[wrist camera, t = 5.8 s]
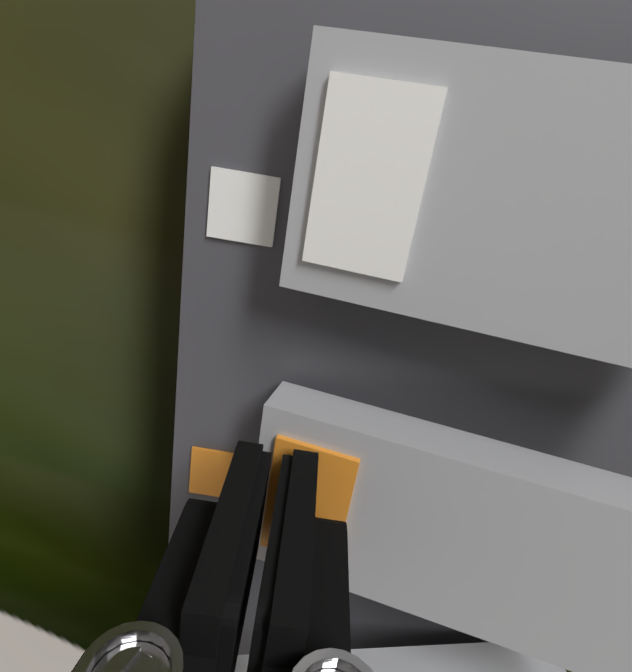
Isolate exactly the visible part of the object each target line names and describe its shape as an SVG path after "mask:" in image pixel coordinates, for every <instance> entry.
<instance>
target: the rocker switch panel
mask: <svg viewBox="0 0 632 672" xmlns="http://www.w3.org/2000/svg"><path fill="white" fill-rule="evenodd" d="M314 25H318V26H326V27H334V28H342V29H350V30H359V31H367V32H375V33H383V34H391V35H400V36H408V37H416V38H424V39H432V40H441V41H449V42H457V43H465V44H473V45H482V46H490V47H498V48H506V49H515V50H523V51H531V52H539V53H547V54H556V55H564V56H572V57H580V58H588V59H597V60H605V61H613V62H621V63H629V64H632V0H196V12H195V31H194V51H193V71H192V90H191V110H190V130H189V149H188V169H187V188H186V208H185V228H184V247H183V267H182V287H181V306H180V326H179V346H178V365H177V385H176V404H175V424H174V444H173V463H172V483H171V503H170V522H169V542H170V539H171V537H172V535H173V532H174V530H175V527H176V525H177V523H178V520H179V518H180V515H181V513H182V511H183V508H184V506H185V504H186V502H187V500H188V499H189V498H192V499H199V500H206V501H212V502H218V499H219V496H220V493H221V490H222V487H223V484H224V481H225V478H226V475H227V472H228V469H229V466H230V463H231V460H232V457H233V454H234V451H235V448H236V445H237V443H238V441H239V440H240V441H246V442H253V443H259V437H260V429H261V422H262V414H263V407H264V404H265V403H266V401H267V400H268V399H269V398H270V396H271V395H272V394H273V393H274V391H275V390H276V389H277V388H278V386H279V385H280V384H281V383H282V381H285V382H289V383H292V384H296V385H299V386H303V387H307V388H310V389H314V390H318V391H321V392H325V393H328V394H332V395H336V396H339V397H343V398H346V399H350V400H354V401H357V402H361V403H365V404H368V405H372V406H375V407H379V408H383V409H386V410H390V411H394V412H397V413H401V414H404V415H408V416H412V417H415V418H419V419H422V420H426V421H430V422H433V423H437V424H441V425H444V426H448V427H451V428H455V429H459V430H462V431H466V432H469V433H473V434H477V435H480V436H484V437H488V438H491V439H495V440H498V441H502V442H506V443H509V444H513V445H517V446H520V447H524V448H527V449H531V450H535V451H538V452H542V453H545V454H549V455H553V456H556V457H560V458H564V459H567V460H571V461H574V462H578V463H582V464H585V465H589V466H592V467H596V468H600V469H603V470H607V471H611V472H614V473H618V474H621V475H625V476H629V477H632V368H629V367H625V366H620V365H616V364H612V363H607V362H603V361H599V360H595V359H590V358H586V357H582V356H577V355H573V354H569V353H564V352H560V351H556V350H552V349H547V348H543V347H539V346H534V345H530V344H526V343H522V342H517V341H513V340H509V339H504V338H500V337H496V336H491V335H487V334H483V333H479V332H474V331H470V330H466V329H461V328H457V327H453V326H449V325H444V324H440V323H436V322H431V321H427V320H423V319H418V318H414V317H410V316H406V315H401V314H397V313H393V312H388V311H384V310H380V309H375V308H371V307H367V306H363V305H358V304H354V303H350V302H345V301H341V300H337V299H333V298H328V297H324V296H320V295H315V294H311V293H307V292H302V291H298V290H294V289H290V288H285V287H281V286H279V283H280V276H281V268H282V261H283V253H284V246H285V238H286V231H287V223H288V215H289V208H290V200H291V193H292V185H293V178H294V170H295V162H296V155H297V147H298V140H299V132H300V125H301V117H302V110H303V102H304V94H305V87H306V79H307V72H308V64H309V57H310V49H311V42H312V34H313V26H314ZM169 542H168V544H169ZM264 562H265V561H262V560H259V559H256V564H255V569H254V574H253V579H252V584H251V590H250V595H249V600H248V605H247V610H246V616H245V621H244V626H243V631H242V636H241V642H240V647H239V652H238V655H247V654H249V653H250V647H251V640H252V634H253V627H254V621H255V615H256V609H257V603H258V597H259V592H260V586H261V580H262V574H263V568H264ZM349 602H350V636H351V649H365V648H384V647H404V646H424V645H443V644H463V643H483V642H488V641H485V640H483V639H480V638H477V637H474V636H471V635H469V634H466V633H463V632H460V631H457V630H455V629H452V628H449V627H446V626H443V625H441V624H438V623H435V622H432V621H429V620H427V619H424V618H421V617H418V616H415V615H413V614H410V613H407V612H404V611H402V610H399V609H396V608H393V607H390V606H388V605H385V604H382V603H379V602H376V601H374V600H371V599H368V598H365V597H362V596H360V595H357V594H354V593H351V592H349Z"/></svg>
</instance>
